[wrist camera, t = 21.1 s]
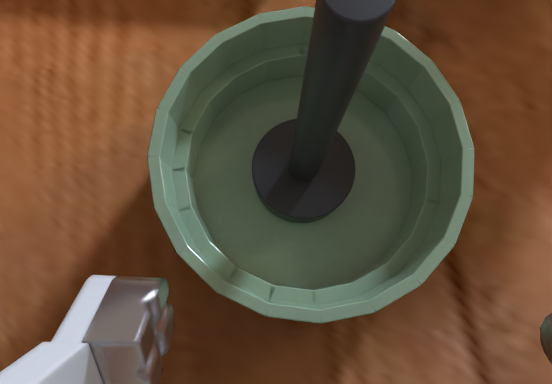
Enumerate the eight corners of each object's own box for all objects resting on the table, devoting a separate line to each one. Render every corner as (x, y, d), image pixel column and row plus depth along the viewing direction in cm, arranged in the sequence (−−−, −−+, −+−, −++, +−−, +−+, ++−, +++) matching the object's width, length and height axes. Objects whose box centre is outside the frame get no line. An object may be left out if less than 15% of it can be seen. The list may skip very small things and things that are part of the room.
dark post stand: (358, 213, 23) (535, 91, 8) (262, 231, 23) (245, 142, 7) (337, 123, 24) (455, -146, 9) (245, 139, 24) (198, -108, 9)
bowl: (459, 282, 23) (515, 284, 18) (196, 334, 23) (173, 354, 17) (394, 45, 26) (426, -15, 21) (160, 85, 25) (130, 34, 20)
